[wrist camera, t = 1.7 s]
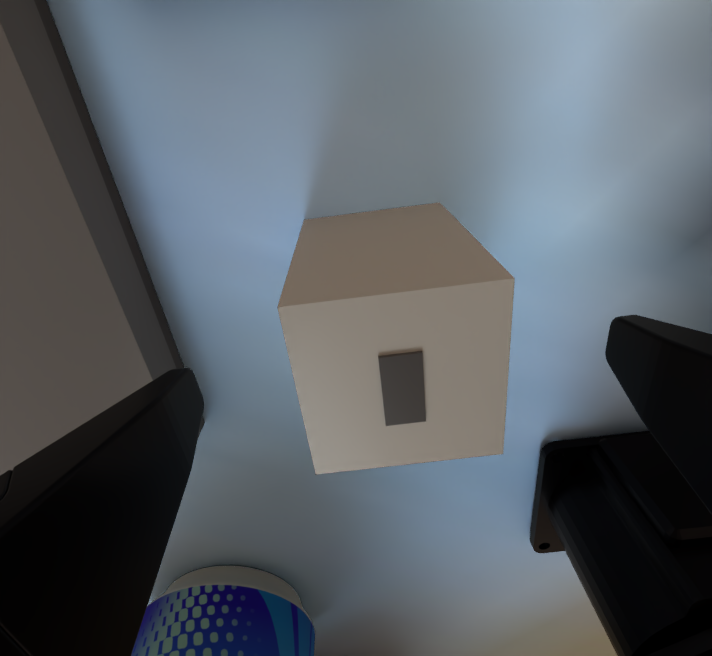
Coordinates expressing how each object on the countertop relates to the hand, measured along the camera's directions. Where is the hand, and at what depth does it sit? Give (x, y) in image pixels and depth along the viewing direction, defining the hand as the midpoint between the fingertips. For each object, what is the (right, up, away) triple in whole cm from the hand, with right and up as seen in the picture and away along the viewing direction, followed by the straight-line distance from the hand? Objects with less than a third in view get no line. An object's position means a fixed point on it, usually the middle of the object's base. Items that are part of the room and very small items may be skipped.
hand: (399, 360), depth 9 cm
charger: (0, +2, +4) cm, 5 cm away
